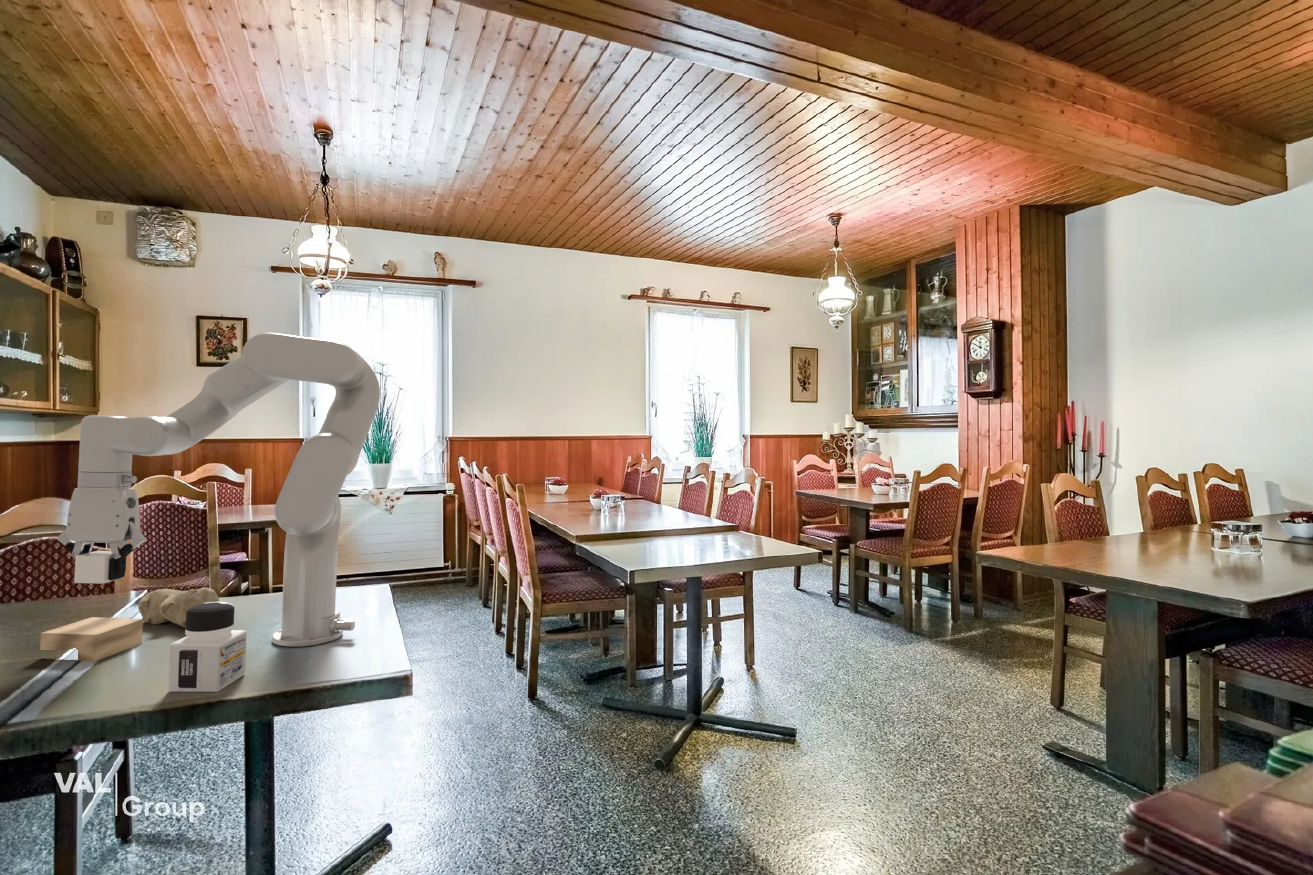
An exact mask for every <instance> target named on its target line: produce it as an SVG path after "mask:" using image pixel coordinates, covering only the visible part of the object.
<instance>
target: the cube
mask: <svg viewBox="0 0 1313 875" xmlns="http://www.w3.org/2000/svg"><path fill="white" fill-rule="evenodd" d="M112 558H113V556H112V552H111V550H96V551H91V552H90V553H85V554H80V555H76V558H74V559H75V563H74V579H73V583H74V584H107V583H110V582H114V581H118V580H121V579H124V578H125V576H124V577H123V578H120V579H116V580H109V579H108V575H109V560H110V559H112Z"/></svg>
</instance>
